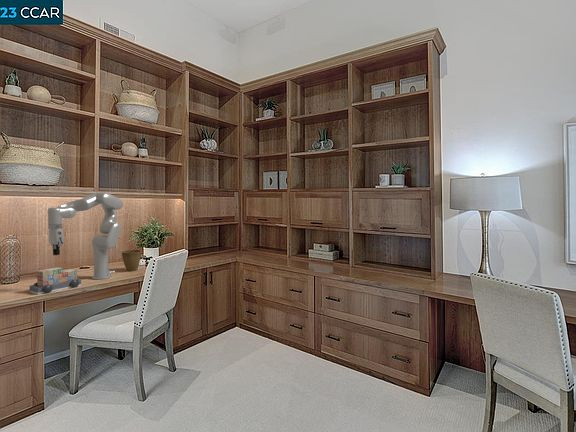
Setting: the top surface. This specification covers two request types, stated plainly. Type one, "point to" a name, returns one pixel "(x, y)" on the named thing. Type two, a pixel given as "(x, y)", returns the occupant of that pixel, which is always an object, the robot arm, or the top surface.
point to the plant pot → (131, 259)
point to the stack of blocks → (55, 276)
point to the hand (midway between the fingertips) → (56, 254)
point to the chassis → (54, 287)
